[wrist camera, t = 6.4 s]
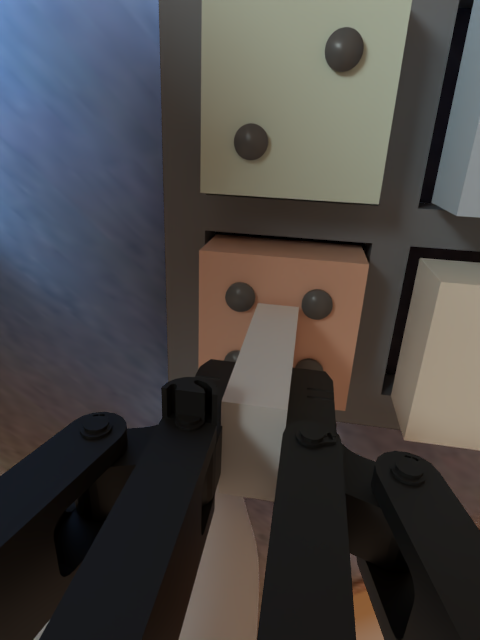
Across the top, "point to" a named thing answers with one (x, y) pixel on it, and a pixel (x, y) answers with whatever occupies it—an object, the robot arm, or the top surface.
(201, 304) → the tile
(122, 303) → the top surface
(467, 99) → the tile
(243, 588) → the mug
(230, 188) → the tile
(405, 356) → the tile
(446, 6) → the keypad board
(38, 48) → the top surface
